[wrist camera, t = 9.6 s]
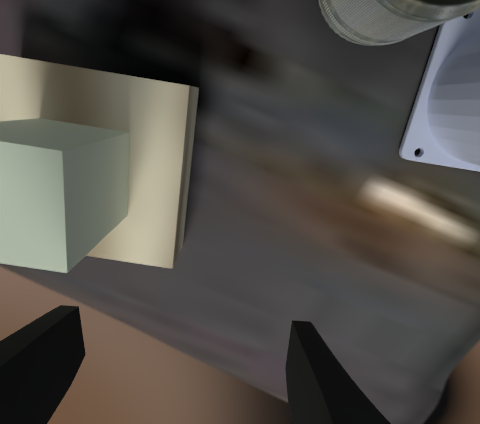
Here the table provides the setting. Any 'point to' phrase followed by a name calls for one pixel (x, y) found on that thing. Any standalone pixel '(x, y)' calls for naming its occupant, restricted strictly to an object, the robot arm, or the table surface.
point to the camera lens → (390, 17)
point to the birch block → (141, 143)
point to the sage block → (59, 190)
